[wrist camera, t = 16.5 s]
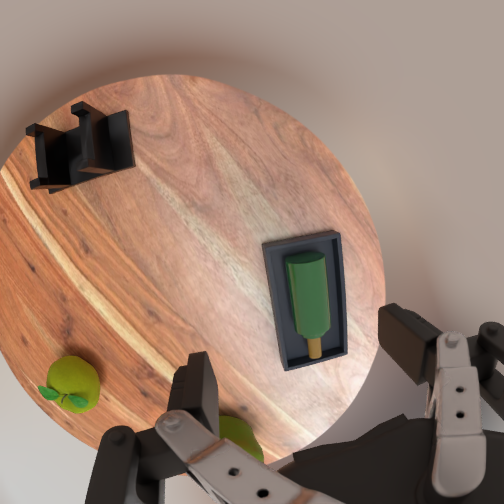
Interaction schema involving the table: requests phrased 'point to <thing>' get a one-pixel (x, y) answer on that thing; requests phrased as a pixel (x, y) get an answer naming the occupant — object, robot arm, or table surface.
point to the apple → (240, 435)
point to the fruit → (72, 384)
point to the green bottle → (309, 297)
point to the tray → (288, 340)
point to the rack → (82, 149)
